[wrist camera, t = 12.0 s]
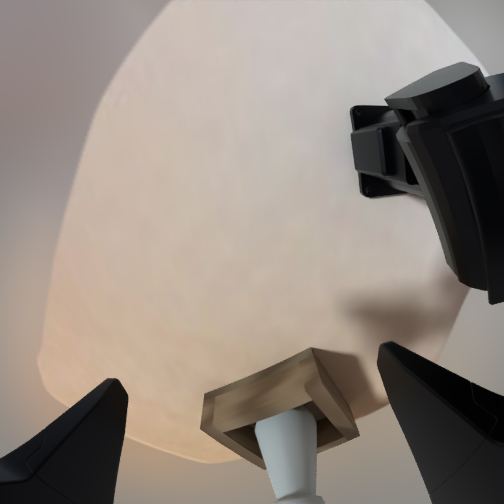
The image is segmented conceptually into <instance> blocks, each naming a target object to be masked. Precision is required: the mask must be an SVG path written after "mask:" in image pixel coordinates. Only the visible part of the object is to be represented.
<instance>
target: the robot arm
mask: <svg viewBox="0 0 504 504" xmlns="http://www.w3.org/2000/svg"><path fill="white" fill-rule="evenodd" d="M385 101H386V103H387V104H388V106H372V105H357V106H354V107H352V108H351V109H350V116H351V122H352V128H353V132H352V133H351V141H352V149H353V156H354V165H355V170H357V171H358V176H359V186H360V193H361V194H362V195H363V196H365V197H375V196H384V195H393V194H402V193H413V194H416V195H419V196H423V197H425V200H426V202H427V205H428V207H429V210H430V212H431V215H432V218H433V221H434V223H435V226H436V229H437V232H438V235H439V238H440V241H441V245H442V248H443V251H444V255H445V258H446V262H447V264H448V265H449V266H450V268H451V269H452V270H453V272H454V273H455V274H456V275H457V276H458V280H459V281H460V282H461V283H463V284H465V285H467V286H469V287H471V288H475V289H480V290H484V291H488V300H489V303H490V304H491V305H493V304H497V303H501V302H504V73H501V74H497V75H493V76H488V77H484V76H483V74H482V72H481V70H480V68H479V67H478V66H475V65H471V64H468V63H465V62H460V63H456V64H453V65H451V66H448V67H445V68H442V69H439V70H437V71H434V72H432V73H430V74H428V75H426V76H425V77H423V78H421V79H419V80H417V81H415V82H413V83H411V84H410V85H408V86H406V87H404V88H402V89H400V90H399V91H397V92H395V93H393V94H392V95H390V96H388V97H386V98H385ZM355 110H358V111H359V112H360V115H359V116H358V115H357V114H356V113H355ZM366 187H369V192H368V193H366V192H365V189H366ZM377 366H378V370H379V373H380V375H381V378H382V381H383V384H384V387H385V390H386V393H387V396H388V399H389V402H390V404H391V407H392V409H393V411H394V413H395V415H396V418H397V420H398V422H399V424H400V426H401V428H402V431H403V433H404V435H405V437H406V440H407V442H408V444H409V446H410V449H411V451H412V453H413V456H414V458H415V460H416V463H417V465H418V468H419V470H420V473H421V475H422V478H423V480H424V483H425V485H426V488H427V491H428V493H429V495H430V499H431V501H432V504H504V396H502V395H499V394H496V393H494V392H492V391H489V390H487V389H485V388H483V387H481V386H479V385H476V384H475V383H473V382H471V383H470V381H468V380H467V379H465V378H463V377H461V376H459V375H457V374H455V373H453V372H451V371H449V370H447V369H445V368H443V367H441V366H439V365H437V364H435V363H433V362H432V361H430V360H428V359H426V358H424V357H422V356H420V355H418V354H416V353H414V352H412V351H410V350H408V349H406V348H405V347H403V346H401V345H399V344H397V343H395V342H393V341H388V342H385V343H382V344H380V346H379V352H378V359H377ZM127 408H128V394H127V392H126V390H125V389H124V387H123V386H122V384H121V382H120V381H119V380H118V379H116V378H107V379H106V380H104V381H103V382H102V383H101V384H100V385H98V386H97V387H96V388H95V389H93V390H92V391H91V392H90V393H88V394H87V395H86V396H85V397H83V398H82V399H81V400H80V401H78V402H77V403H76V404H75V405H73V406H72V407H71V408H70V409H68V410H67V411H66V412H65V413H63V414H62V415H61V416H60V417H58V418H57V419H56V420H54V421H53V422H52V423H51V424H49V425H48V426H47V427H46V428H45V429H43V430H42V431H41V432H39V433H38V434H37V435H36V436H34V437H33V438H31V439H30V440H29V441H27V442H26V443H25V444H23V445H21V446H20V447H18V448H17V449H15V450H14V451H12V452H10V453H9V454H7V455H5V456H4V457H2V458H0V504H113V502H114V493H115V487H116V480H117V473H118V468H119V462H120V456H121V451H122V446H123V441H124V435H125V428H126V417H127Z"/></svg>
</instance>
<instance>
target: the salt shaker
mask: <svg viewBox="0 0 504 504" xmlns="http://www.w3.org/2000/svg"><path fill="white" fill-rule="evenodd" d="M255 434H256V437H257V440H258V443H259V447H260V450H261V453H262V456H263V459H264V462H265V465H266V468H267V471H268V474H269V477H270V480H271V483H272V486H273V489H274V492H275V495H276V498H277V501H276V502H273V503H272V504H325V502H324V500H323V499H322V497H321V496H316V466H317V465H316V462H317V457H316V456H317V426H316V421H315V418H314V416H313V414H312V412H311V411H309V410H308V409H307V408H306V407H305V406H304V405H300V406H298V407H295V408H293V409H290V410H288V411H285V412H283V413H280V414H277V415H275V416H272V417H269V418H267V419H264V420H261V421H258V422H256V426H255Z"/></svg>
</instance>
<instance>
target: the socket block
mask: <svg viewBox="0 0 504 504" xmlns="http://www.w3.org/2000/svg"><path fill="white" fill-rule="evenodd" d="M300 405H304V406H305V407H306V408H307V409H308V410H309V411H311V412H312V414H313V416H314V418H315V421H316V426H317V453H320V452H322V451H325V450H328V449H330V448H332V447H335V446H338V445H340V444H342V443H345V442H347V441H349V440H352V439H354V438H356V437H358V436H360V434H359V431H358V428H357V426H356V423H355V420H354V417H353V415H352V412H351V409H350V407H349V405H348V403H347V402H346V400H345V399H344V397H343V396H342V394H341V393H340V391H339V390H338V388H337V387H336V385H335V384H334V382H333V381H332V379H331V378H330V376H329V375H328V373H327V372H326V370H325V369H324V367H323V366H322V364H321V363H320V361H319V360H318V358H317V357H316V355H315V354H314V352H313V351H312V349H311V348H309V349H307V350H305V351H303V352H301V353H299V354H297V355H295V356H292V357H290V358H288V359H286V360H284V361H282V362H280V363H278V364H276V365H273V366H271V367H269V368H267V369H265V370H262V371H260V372H258V373H255V374H253V375H251V376H248V377H246V378H244V379H241V380H239V381H236V382H234V383H231V384H229V385H226V386H224V387H221V388H219V389H216V390H213V391H211V392H208V393H205V394H204V402H203V410H202V418H201V426H200V429H201V430H202V431H204V432H205V433H206V434H208V435H209V436H211V437H212V438H214V439H215V440H216V441H218V442H219V443H221V444H222V445H224V446H225V447H227V448H229V449H230V450H232V451H233V452H235V453H236V454H238V455H240V456H241V457H243V458H245V459H246V460H248V461H250V462H251V463H253V464H255V465H257V466H258V467H260V468H262V469H264V470H265V469H267V468H266V465H265V462H264V459H263V456H262V453H261V450H260V447H259V443H258V440H257V437H256V434H255V426H256V422H258V421H261V420H264V419H267V418H269V417H272V416H275V415H277V414H280V413H283V412H285V411H288V410H290V409H293V408H295V407H298V406H300Z"/></svg>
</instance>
